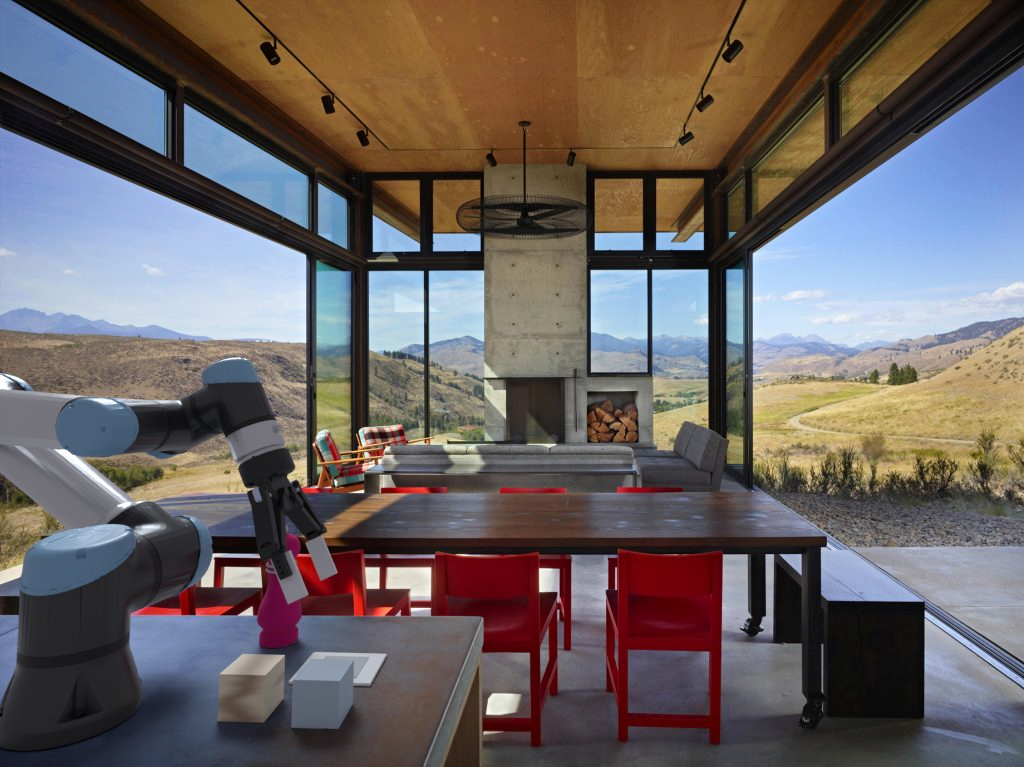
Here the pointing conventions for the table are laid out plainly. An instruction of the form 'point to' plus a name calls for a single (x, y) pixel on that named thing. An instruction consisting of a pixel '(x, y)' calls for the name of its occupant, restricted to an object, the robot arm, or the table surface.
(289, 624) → the pepper mill
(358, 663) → the mat
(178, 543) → the robot arm
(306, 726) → the slate cube
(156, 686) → the table surface
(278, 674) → the maple cube
